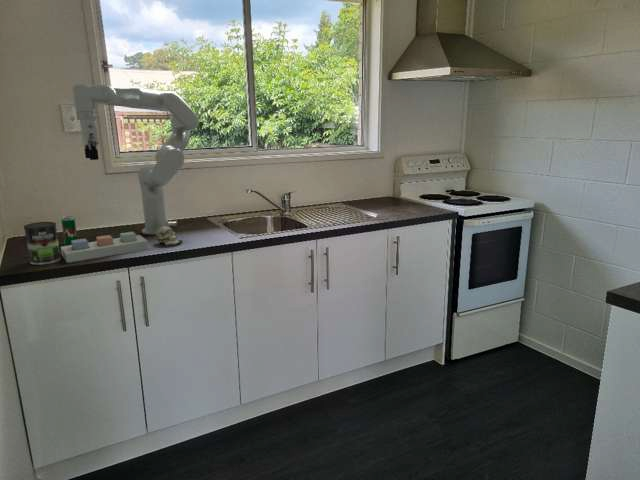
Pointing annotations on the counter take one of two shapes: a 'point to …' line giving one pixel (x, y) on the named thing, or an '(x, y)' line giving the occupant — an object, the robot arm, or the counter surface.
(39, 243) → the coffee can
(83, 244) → the slate key
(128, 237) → the sage key
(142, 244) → the keypad housing
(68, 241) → the soda can
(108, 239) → the terracotta key
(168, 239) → the skull
